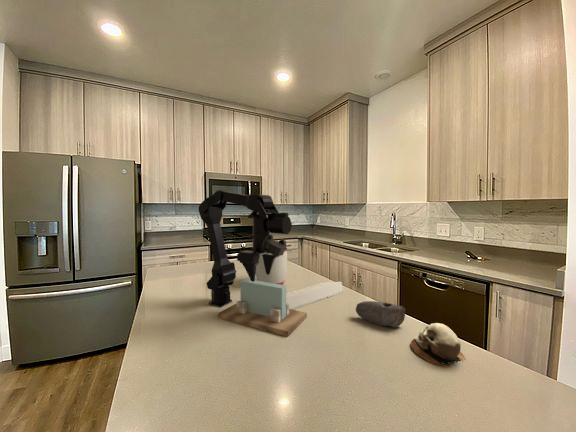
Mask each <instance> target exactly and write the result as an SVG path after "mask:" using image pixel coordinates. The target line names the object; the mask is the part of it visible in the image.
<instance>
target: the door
mask: <svg viewBox="0 0 576 432" xmlns="http://www.w3.org/2000/svg"><path fill="white" fill-rule="evenodd" d="M286 293H287V285H284V284H283V285H280V284H274V283H268V282H262V281H257V279H255V281H254V282H252V281H251V280H250V278H245V279H242V280H240V301H243V302H246V311H247V312H251V313H255V314H259V315H263V316H268V317H270V309H272V308H274V309H279V310H281V320H282V319H283V318H285V317H286Z"/></svg>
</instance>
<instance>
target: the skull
mask: <svg viewBox="0 0 576 432" xmlns="http://www.w3.org/2000/svg"><path fill="white" fill-rule="evenodd" d="M410 346H411V348H412V350H413V351H414V353H415V354H416V355H418V357H420V358H421V359H424V360H425V361H426V362H429V363H431V364H434V365H437V366H439V367H442V368H443V367H444V368H448V367H449V368H450V369H451V367H450V366H451V364H450V363H454V364H455V362H456V363H458V362H461V361H462V362H465V361H466V362H467V360H466V356H465V355H464V354H463V353H462V351H461V347H462V346H461V341H460V339H459V337H458V336H457V334H456V333H455V332H454V331H453V330H452V329H451V328H450V327H449V326H448V325H445V324H444V323H439V322H434V323H430V324H429V325H427V326H426V327H425V328H423V330H421V331H419V332H418V335H417V336H415V338H413V339H412V340H411V341H410Z"/></svg>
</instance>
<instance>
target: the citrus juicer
mask: <svg viewBox="0 0 576 432" xmlns="http://www.w3.org/2000/svg"><path fill="white" fill-rule="evenodd" d="M258 261H259V264H258V265H257V266H256V274H255V279H256V281H262V282H268V283H274V284H280V285H284V282H285V280H286V276H287V271H288V269H287V268H288V248H287V250H284V253H283V255H280V256H279V257H277V258H276V259H275V260H274V262H273V265H272V268H271V271H270V274H269V275H267V274H266V271H265V266H264V261H263V256H262V255H261V256H260V258H259V260H258Z"/></svg>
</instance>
